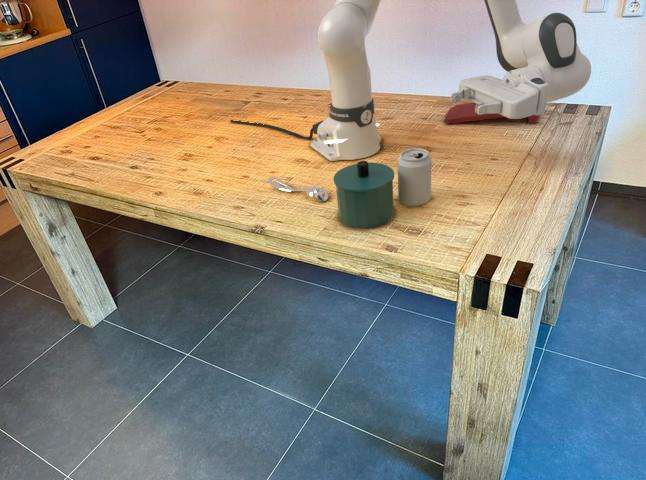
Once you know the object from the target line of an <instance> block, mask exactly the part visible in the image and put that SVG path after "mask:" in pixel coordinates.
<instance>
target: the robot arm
mask: <svg viewBox="0 0 646 480" xmlns="http://www.w3.org/2000/svg"><path fill="white" fill-rule="evenodd" d="M483 1H484V5H485V8H486V10H487V11H486V12H487V14H488V17H489V20H490V23H491V28H492V30H493V34H494V39H495V47H496V49H495V50H496V57H497V61H498V63H499V65H500V66H501V68H502V69H503V70H505V72H506V73H505V74H504V76H503V77H502V79H500V78H499V77H495V76H492V75H478V76H473V77H468V78H464V79H462V80H461V81H459V85H458V90H457V91H456V92H452V93H451V94H450V96H449V97H450V100H449V101H450V102H452V103H454V104H457V103H460V102H461V101H462V99H464V100H468V101H469V102H471V103H476V104H478V105H476V106H475V113H477V114H479V115H481V114H485V113H492V114H496V113H498V114H501V115H503V116H505V118H506V119H509V120H519V119H525V118H528V116H532V115H538V116H541V115H544V114H545V111H546V108H547V103H551V102H556V101H559V100H562V99H565V98H568V97H570V96H572V95H575V94H576V93H578V92H579V91H581V90H582V89H583V88H585V86H586V85H587V83H588V82H589V80H590V79H591V74H592V65H591V61H590V59H589V58H588V57H587V56H586V55H585V54H584V53H583V52H582V51H581V49H580V47H579V45H578V41H577V40H578V39H577V29H576V25H575V23H574V22H573V20H572V19H571V18H570V17H569V16H568V15H567V14H565V13H561V12H552V13H550V14H548V15H545V16H543V17H540V18H537V19H535V20H533V21H532V22H529V23H527V24H525V23H524V22H523V20H522V19H521V15H520V11H519V8H518V4H517V0H483ZM380 4H381V0H335V2H334V4H333V6H332V8H331V9H330V10H329V11H328V12H326V14H324V16H323V18H322V19H321V21H320V24H319V26H318V31H317V44H318V46H319V48H320V50H321V51H322V54H323V55H322V56H323V59H324V62H325V66H326V70H327V74H328V79H329V85H330V86H329V88H330V96H331V97H330V99H331V103H328V104H326V106H327V107H326V109H329V113H328V116H327V117H326V118H325V119H324V120H323V119H322V120H320V121H318V122H316V123H314V124H312V128H311V129H310V131H309V136H303V135H301V134H299V133H297V132H294V131H291V130H288V129H286V128H282V127H280V126H276V125H271V124H268V123H262V122H254V121H253V122H254V123H249V122H250V121H247V122H241V121H242V120H239V121H233V120H234V119H232V120H231V119H230V122H231V123H236V124H244V125H251V126H258V127H264V128H269V129H272V130H273V129H274V130H278V131H280V132H283V133H286V134H289V135H292V136H295V137H297V138H299V139H302V140H307V141H310V140H311V139H313V136H314V135H317V137H316V138H314V139H313V140H311V142H310V148H312V149H314V150H315V151H316V152H318V153H319V154H320V155H322V156H323V157H325V158H326V159H327V160H329V161H330V162H336V161H353V160H360V159H366V158H368V157H369V158H370V157H371V156H374V155H375V154H377V153H379V151H380V149H381V144H380V143H381V141H382V137H381V136H380V135H379V130H378V127H380V123H378V122H377V116H376V114H375V100H374V98H373V93H372V90H373V89H372V74H371V68H370V66H369V62H368V57H367V52H366V44H365V43H366V37H368V35H369V33H370V31H371V28H372V27H373V24H374V21H375V18H376V15H377V12H378V9H379V6H380ZM257 123H258V124H257ZM263 124H264V125H263Z"/></svg>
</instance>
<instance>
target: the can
mask: <svg viewBox="0 0 646 480" xmlns="http://www.w3.org/2000/svg"><path fill="white" fill-rule="evenodd" d="M432 164H433V163H432V157H431V156H430V152H429V151H428V150H427V149H425V148H420V147H414V148H408V149H405V150H403V151H402V152H400V154H399V157H398V159H397V194H398V196H397V197H398V200H399V202H401V203H402V204H403V205H404V206H407V207H420V206H423V205H425V204H426V203H427V202H429V201H430V200H431V198H432Z"/></svg>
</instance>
